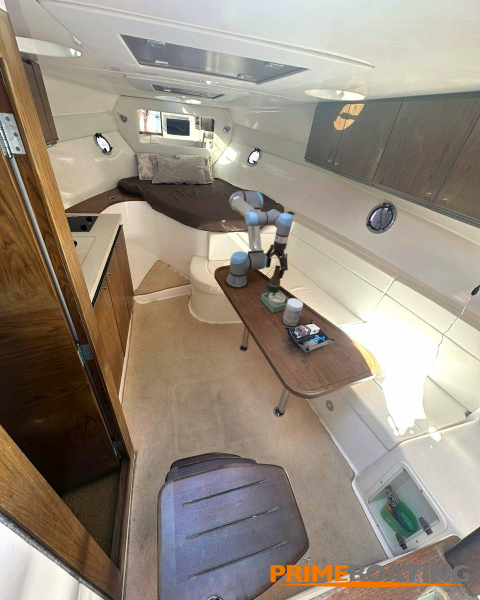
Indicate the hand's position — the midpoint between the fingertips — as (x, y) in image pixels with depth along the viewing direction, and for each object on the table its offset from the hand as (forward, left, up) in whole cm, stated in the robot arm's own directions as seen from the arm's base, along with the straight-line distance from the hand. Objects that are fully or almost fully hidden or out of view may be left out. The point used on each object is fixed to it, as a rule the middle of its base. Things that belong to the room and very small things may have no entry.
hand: (273, 272), depth 157 cm
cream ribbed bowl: (+4, +4, -22) cm, 23 cm away
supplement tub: (+22, +2, -23) cm, 32 cm away
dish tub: (+4, +4, -23) cm, 24 cm away
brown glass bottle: (-4, +6, -23) cm, 24 cm away
